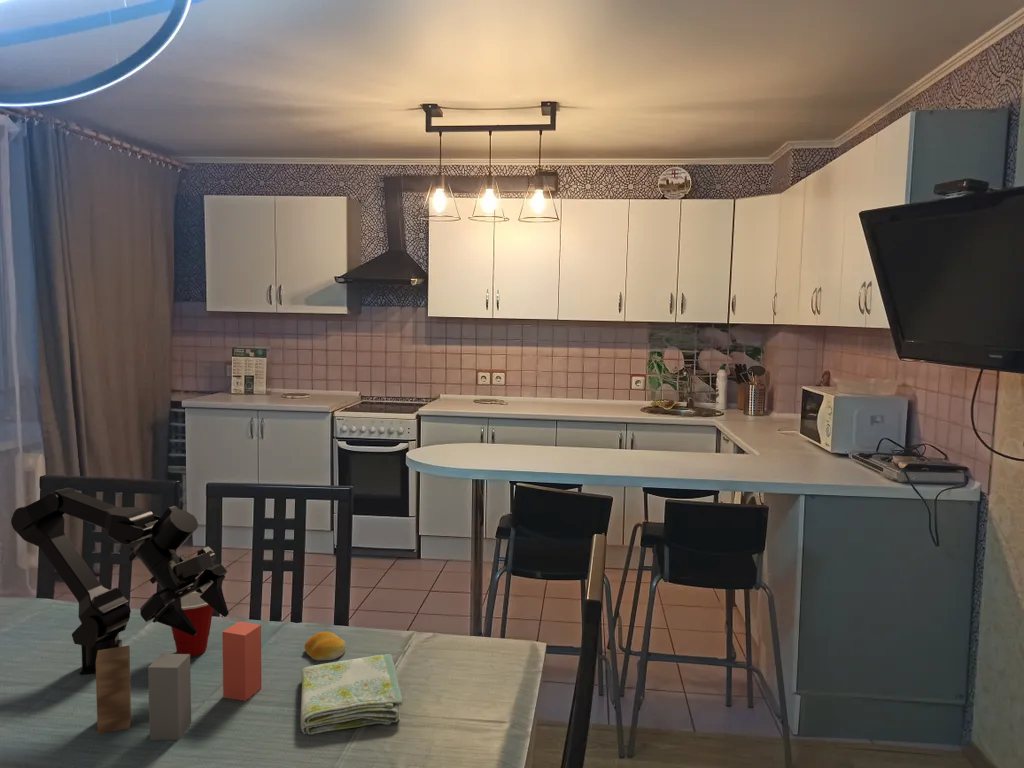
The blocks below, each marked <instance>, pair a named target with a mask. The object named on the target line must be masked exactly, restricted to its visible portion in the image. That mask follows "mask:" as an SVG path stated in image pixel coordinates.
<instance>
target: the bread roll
mask: <svg viewBox="0 0 1024 768" xmlns="http://www.w3.org/2000/svg"><path fill="white" fill-rule="evenodd" d="M346 645H347V644H346V641H345V640H344V639H342V638H340V637H339V636H338V635H337V634H336V633H333V632H332V631H320V632H317V633H315V634H313V635H312V636H311V637H309V638H308V640H306V641H305V644H304V652H305V653H306V654H307V655H308V656H309V657H311V659H313V660H314V661H323V662H324V661H332V660H335V659H337V658H340V657H341V656H342V655H343V654H344V653H345V652H346V648H347V647H346Z"/></svg>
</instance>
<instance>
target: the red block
mask: <svg viewBox="0 0 1024 768" xmlns="http://www.w3.org/2000/svg"><path fill="white" fill-rule="evenodd" d="M259 689H260V690H262V624H259V623H258V624H257V623H251V622H245V621H239V620H238V621H237V622H236V623H233V625H231V626H229V627H228V628H226V629H224V630H223V631H222V691H223V692H222V696H223V697H222V698H226V697H229V698H228V699H231V698H234V699H233V700H237V699H239V700H238V701H242V700H243V701H242V702H247V701H248V700H249V699H251V698H252V697H253V696H254V695H255V694H257V693H258V692H259V691H260V690H259ZM258 690H259V691H258ZM257 691H258V692H257ZM256 692H257V693H256ZM253 694H254V695H253ZM252 695H253V696H252ZM251 696H252V697H251ZM248 698H249V699H248ZM247 699H248V700H247Z"/></svg>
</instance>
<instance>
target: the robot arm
mask: <svg viewBox="0 0 1024 768" xmlns="http://www.w3.org/2000/svg"><path fill="white" fill-rule="evenodd" d="M64 515H69V516H71V517H74V518H76V519H78V520H82V521H84V522H87V523H89V524H92V525H94V526H97V527H99V528H101V529H103V530H104V531H105V533H106V535H107V536H108V537H109V538H111V539H112V540H114V541H115V542H117V543H119V544H120V545H125V546H126V545H130V544H132V543H134V542H138V541H141V542H140V543H139V544H137V545H135V546H134V545H133V546H131V547H130V548H129V549H130V552H129V555H128V561H129V562H130V563H131V562H133V561H134V562H135V561H137V560H140V562H141V563H142V564H143V565H144V567H145V568H146V569H147V571H148V572H149V573H150V575H151V576H152V577H150V578H149V582H150V583H151V584H152V585H154V584H156V583H157V584H158V585H159V586H160V588H161V590H159V591H157V592H155V593H153V594H152V595H151V596H150V597H149V598H148V599H147V600H146V601H145V602H144V603H143V605H141V607H140V608H139V609H140V611H139V612H140V613H139V614H140V616H141V618H142V619H143V620H144V622H145V623H148V622H150V621H151V622H152V623H154V624H155V623H158V624H159V623H160V624H162V625H165V626H168V627H170V628H171V627H173V628H176V629H178V630H180V631H183V632H185V633H187V634H190V635H192V636H194V635H195V634H196V633H197V630H196V629H195V627H194V625H193V624H192V622H191V621H190V619H189V618H188V617H187V615H186V614H185V612H184V611H183V610H182V607H181V598H182V597H184V596H186V595H188V594H189V593H194V592H198V593H201V594H202V593H203V594H202V595H201V596H200V598H201V599H203V600H204V601H205V602H206V603H207V604H209V605H210V606H211V607H212V608H213V610H215V612H217V613H218V614H220V615H221V616H222V617H224V618H226V617H228V615H229V613H230V612H229V609H228V606H227V601H226V599H225V596H224V591H223V582H224V581H225V579H226V574H228V570H227V569H226V568H225V567H224V566H223V564H219V563H216V564H214V561H216V559H217V554H216V553H215V551H214V550H213V549H212V548H211V547H210V545H209V546H205V547H204V548H201V549H199V550H197V551H196V553H197V555H195V556H194V557H191V558H190V559H189V558H188V556H187V555H185V554H182V555H180V556H179V554H178V553H177V552H176V551H175V550H178V549H179V548H180V547H182V546H183V545H184V544H185V542H186V541H187V540H188V539H189V538H190V537H191V536H192V535H193V534H194V532H196V530H197V529H198V528H199V527H198V526H199V523H198V519H197V518H196V516H195V515H194V514H191V513H190V512H189V511H187V510H184V509H179V507H178V506H177V505H172V506H169V507H167V508H166V510H164V512H163V514H162V515H161V516H160V515H157V514H154V513H153V512H152V511H151V510H149V509H146V508H141V507H135V506H132V507H131V506H129V507H127V506H126V507H125V506H117V505H115V504H112V503H109V502H106V501H104V500H101V499H98V498H95V497H93V496H90V495H88V494H85V493H82V492H79V491H77V489H75V488H73V487H65V488H61V489H58V490H54V491H50V492H49V493H48V494H46V495H45V496H44V497H42V498H41V499H38V500H36V501H34V502H32V503H29V504H28V505H25V506H21V507H18V508H16V509H15V510H14V512H13V514H12V516H11V519H10V522H11V523H10V524H11V527H12V528H13V530H14V531H15V532H16V533H17V534H18V535H19V536H20V538H22V540H23V541H25V542H27V543H29V544H31V545H33V546H36V547H38V548H40V550H41V551H42V552H43V554H44V555H45V557H46V558H47V560H48V561H49V562H50V563H51V565H52V567H53V568H54V570H55V571H56V572H57V574H58V575H59V576H60V578H61V579H62V581H63V582H64V583H65V585H66V586H67V588H68V589H69V590H70V592H71V594H72V595H73V596H74V598H75V599H76V600H77V602H78V620H79V621H80V623H81V624H80V625H79V626H78V627H76V629H74V631H73V632H72V633H71V638H72V640H73V643H74V644H75V645H80V646H81V667H80V669H79V675H83V674H94V673H95V674H96V658H97V652H98V650H103V649H110V648H116V647H123V640H122V639H120V636H119V635H120V633H121V632H124V631H125V630H126V628H127V625H128V622H129V621H130V619H131V618H130V617H131V612H132V610H131V607H130V605H129V603H130V601H129V600H128V599H127V598H126V597H125V596H124V595H123V593H122V591H121V589H120V588H118V587H117V586H116V587H114V588H111V589H108V588H106V587H104V586H103V585H102V584H101V582H100V581H99V580H98V577H96V576H95V574H94V573H93V571H92V570H91V568H90V567H89V566H88V564H87V563H86V561H85V560H84V558H83V556H81V554H80V553H79V551H78V549H76V547H75V546H74V544H73V543H72V542H71V540H70V539H69V537H68V536H67V535H66V532H65V526H66V525H65V523H66V521H65V517H64ZM142 539H143V540H142Z"/></svg>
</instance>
